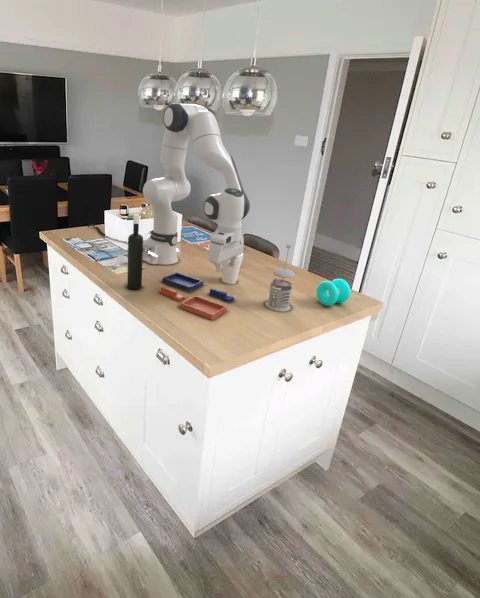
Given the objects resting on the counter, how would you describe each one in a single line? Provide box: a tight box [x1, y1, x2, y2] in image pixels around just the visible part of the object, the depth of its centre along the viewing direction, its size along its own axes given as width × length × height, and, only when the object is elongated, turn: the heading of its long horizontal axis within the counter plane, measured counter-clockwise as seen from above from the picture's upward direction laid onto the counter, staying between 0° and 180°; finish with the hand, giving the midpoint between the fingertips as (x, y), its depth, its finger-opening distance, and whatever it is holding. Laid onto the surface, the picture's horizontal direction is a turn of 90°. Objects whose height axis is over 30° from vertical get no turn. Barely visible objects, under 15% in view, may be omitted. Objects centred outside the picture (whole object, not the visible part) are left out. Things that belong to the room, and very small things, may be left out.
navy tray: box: [162, 272, 204, 292], centre depth 176 cm, size 14×10×2 cm
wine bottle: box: [126, 213, 144, 291], centre depth 163 cm, size 6×6×30 cm
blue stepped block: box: [209, 287, 235, 303], centre depth 166 cm, size 10×3×3 cm, turn 53°
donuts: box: [315, 278, 351, 307], centre depth 167 cm, size 10×10×10 cm
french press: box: [265, 243, 296, 312], centre depth 157 cm, size 10×12×25 cm
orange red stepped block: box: [160, 285, 185, 302], centre depth 164 cm, size 10×3×3 cm, turn 53°
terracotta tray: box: [179, 295, 228, 321], centre depth 155 cm, size 14×10×2 cm
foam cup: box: [221, 252, 244, 285], centre depth 181 cm, size 10×9×13 cm
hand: (225, 268), depth 161 cm, fingers open, 8 cm apart
